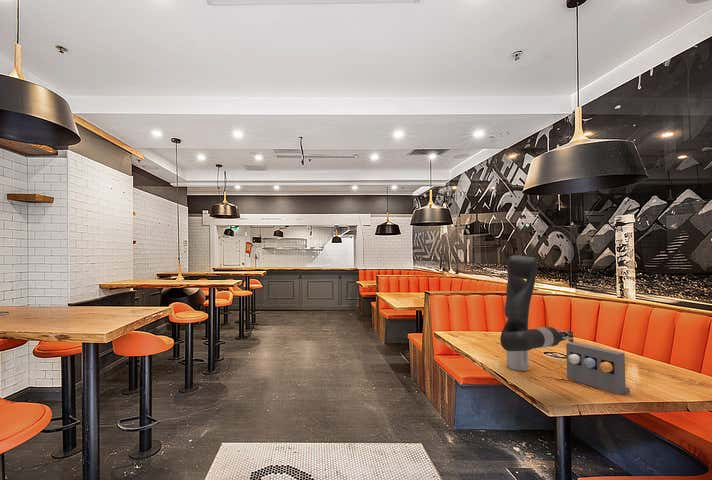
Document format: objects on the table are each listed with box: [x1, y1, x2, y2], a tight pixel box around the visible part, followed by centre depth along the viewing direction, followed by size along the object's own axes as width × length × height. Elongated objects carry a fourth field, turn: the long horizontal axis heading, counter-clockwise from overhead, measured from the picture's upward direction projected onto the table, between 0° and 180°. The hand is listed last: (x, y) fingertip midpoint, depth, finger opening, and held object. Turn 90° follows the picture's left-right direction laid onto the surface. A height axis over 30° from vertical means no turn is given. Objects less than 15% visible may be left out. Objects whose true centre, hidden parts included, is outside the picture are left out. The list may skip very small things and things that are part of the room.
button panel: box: [565, 341, 631, 396], centre depth 150 cm, size 21×8×16 cm, turn 27°
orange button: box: [600, 361, 614, 373], centre depth 143 cm, size 4×3×4 cm
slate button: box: [584, 357, 597, 368], centre depth 149 cm, size 4×3×4 cm
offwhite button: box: [569, 354, 581, 364], centre depth 154 cm, size 4×3×4 cm
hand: (570, 333), depth 143 cm, fingers closed
